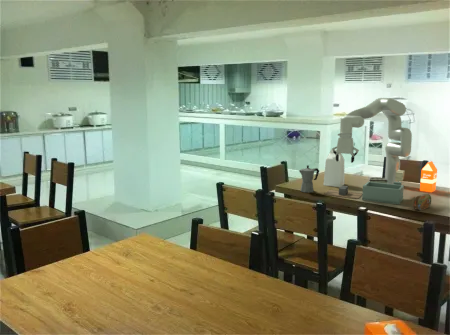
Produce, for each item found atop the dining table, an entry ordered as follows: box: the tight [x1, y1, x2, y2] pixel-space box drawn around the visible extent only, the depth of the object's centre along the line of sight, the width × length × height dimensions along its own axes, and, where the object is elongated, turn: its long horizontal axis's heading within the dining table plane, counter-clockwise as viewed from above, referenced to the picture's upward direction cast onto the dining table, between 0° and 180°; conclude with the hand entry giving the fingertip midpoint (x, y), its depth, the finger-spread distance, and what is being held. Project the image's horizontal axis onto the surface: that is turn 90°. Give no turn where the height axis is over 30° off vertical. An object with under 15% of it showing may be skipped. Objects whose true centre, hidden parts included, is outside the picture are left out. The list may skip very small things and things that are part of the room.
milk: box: [323, 148, 345, 188], centre depth 304 cm, size 12×12×26 cm
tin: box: [413, 193, 432, 211], centre depth 244 cm, size 15×3×8 cm, turn 126°
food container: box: [368, 176, 388, 184], centre depth 282 cm, size 12×6×10 cm, turn 84°
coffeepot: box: [298, 165, 320, 194], centre depth 287 cm, size 15×9×18 cm, turn 107°
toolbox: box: [361, 181, 405, 205], centre depth 266 cm, size 18×22×10 cm
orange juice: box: [419, 161, 438, 193], centre depth 286 cm, size 8×9×20 cm
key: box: [395, 169, 405, 182], centre depth 273 cm, size 8×4×6 cm, turn 149°
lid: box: [323, 185, 363, 200], centre depth 277 cm, size 14×23×6 cm, turn 59°
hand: (344, 161), depth 274 cm, fingers open, 9 cm apart
